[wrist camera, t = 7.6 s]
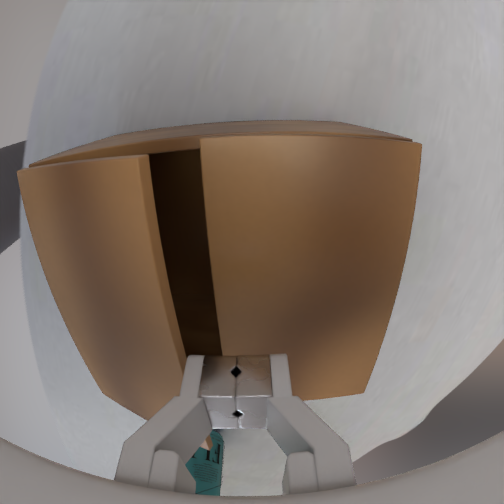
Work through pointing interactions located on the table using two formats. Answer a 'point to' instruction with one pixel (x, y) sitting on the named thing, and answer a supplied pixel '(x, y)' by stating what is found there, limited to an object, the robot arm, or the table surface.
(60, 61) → the table surface
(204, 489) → the beverage bottle
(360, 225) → the carton
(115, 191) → the flap
